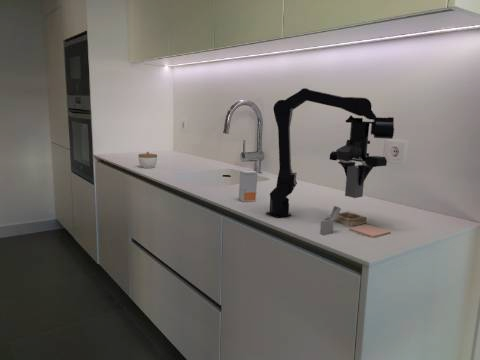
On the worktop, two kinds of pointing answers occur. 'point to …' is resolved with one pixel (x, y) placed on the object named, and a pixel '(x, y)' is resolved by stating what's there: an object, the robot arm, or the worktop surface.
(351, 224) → the wooden square frame
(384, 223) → the worktop surface
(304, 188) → the worktop surface
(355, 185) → the dark grey block
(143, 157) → the lidded jar
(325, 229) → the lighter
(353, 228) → the tile
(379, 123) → the robot arm
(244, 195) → the skincare box
